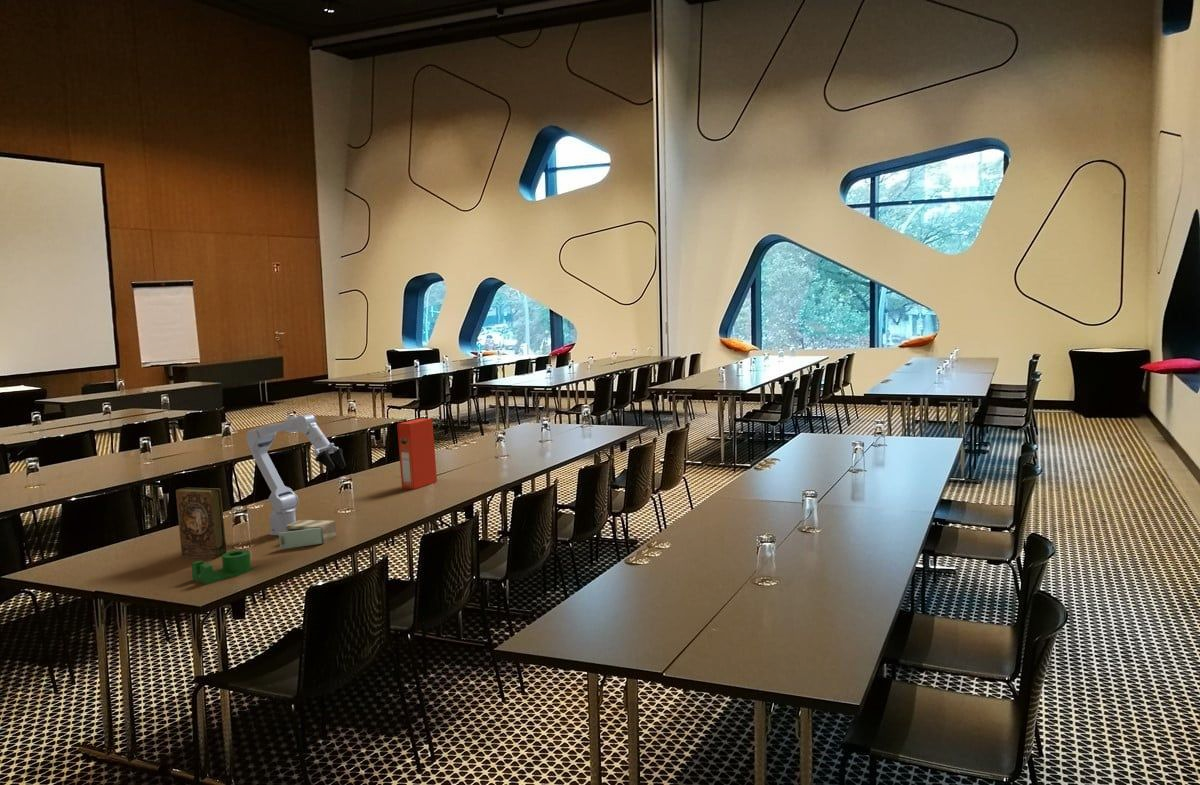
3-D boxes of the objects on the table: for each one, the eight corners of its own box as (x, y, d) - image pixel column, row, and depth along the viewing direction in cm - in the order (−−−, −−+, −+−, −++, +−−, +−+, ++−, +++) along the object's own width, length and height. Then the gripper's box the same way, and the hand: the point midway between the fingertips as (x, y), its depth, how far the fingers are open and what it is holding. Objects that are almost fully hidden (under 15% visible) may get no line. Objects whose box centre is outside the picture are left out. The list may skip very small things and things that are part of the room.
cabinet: (287, 542, 342) (285, 525, 341) (300, 535, 350) (299, 519, 349) (323, 543, 337) (322, 526, 337) (336, 537, 346) (335, 520, 345)
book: (179, 557, 328) (172, 490, 325) (190, 552, 333) (183, 487, 330) (216, 558, 323) (210, 491, 320) (227, 554, 328) (220, 488, 325)
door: (280, 549, 330) (278, 534, 329) (280, 548, 332) (278, 532, 331) (323, 543, 335) (322, 528, 335) (323, 542, 337) (322, 527, 337)
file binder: (401, 488, 430) (397, 423, 426) (424, 481, 445) (419, 418, 442) (414, 489, 426) (410, 424, 423) (436, 482, 442) (432, 418, 438)
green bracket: (242, 566, 313) (240, 548, 313) (256, 570, 308) (254, 552, 307) (192, 580, 299) (191, 562, 299) (206, 585, 294) (204, 566, 293)
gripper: (314, 434, 334) (334, 463, 332) (336, 433, 348) (356, 460, 345) (302, 446, 336) (322, 474, 333) (324, 444, 350) (343, 471, 347)
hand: (338, 468), depth 339 cm, fingers open, 7 cm apart
